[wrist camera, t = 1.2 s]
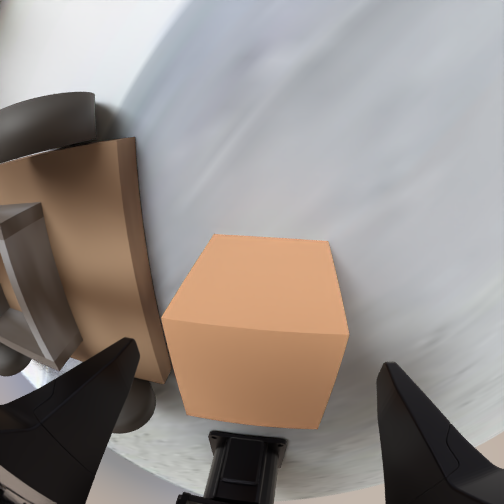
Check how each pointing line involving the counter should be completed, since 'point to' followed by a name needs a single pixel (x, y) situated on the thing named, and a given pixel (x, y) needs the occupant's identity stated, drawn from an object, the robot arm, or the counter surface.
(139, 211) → the chassis
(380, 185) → the counter surface
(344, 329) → the orange block
